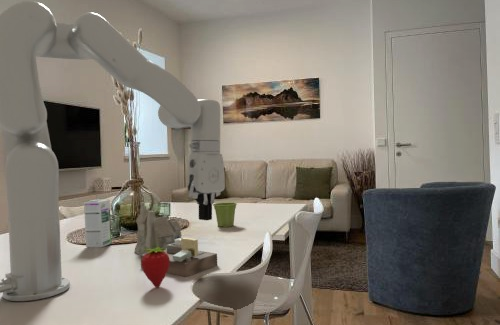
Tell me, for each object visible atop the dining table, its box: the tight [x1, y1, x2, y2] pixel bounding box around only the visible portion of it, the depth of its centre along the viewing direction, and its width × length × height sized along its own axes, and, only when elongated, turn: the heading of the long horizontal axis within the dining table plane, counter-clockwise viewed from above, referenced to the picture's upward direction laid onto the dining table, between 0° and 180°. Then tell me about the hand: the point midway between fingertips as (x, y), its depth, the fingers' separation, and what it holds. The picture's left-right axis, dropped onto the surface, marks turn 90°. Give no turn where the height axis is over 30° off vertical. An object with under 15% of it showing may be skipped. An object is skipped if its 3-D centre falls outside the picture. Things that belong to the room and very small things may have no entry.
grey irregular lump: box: [134, 201, 182, 256], centre depth 122 cm, size 16×16×15 cm
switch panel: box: [140, 243, 218, 277], centre depth 103 cm, size 11×16×5 cm
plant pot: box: [212, 201, 238, 228], centre depth 158 cm, size 9×9×9 cm
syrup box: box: [83, 198, 113, 249], centre depth 130 cm, size 6×6×14 cm
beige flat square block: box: [181, 237, 199, 257], centre depth 100 cm, size 1×4×4 cm, turn 54°
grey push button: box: [175, 237, 182, 247], centre depth 106 cm, size 3×3×3 cm
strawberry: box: [140, 241, 170, 288], centre depth 87 cm, size 6×8×10 cm
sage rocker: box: [173, 250, 192, 262], centre depth 97 cm, size 4×3×1 cm
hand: (205, 219), depth 105 cm, fingers closed
